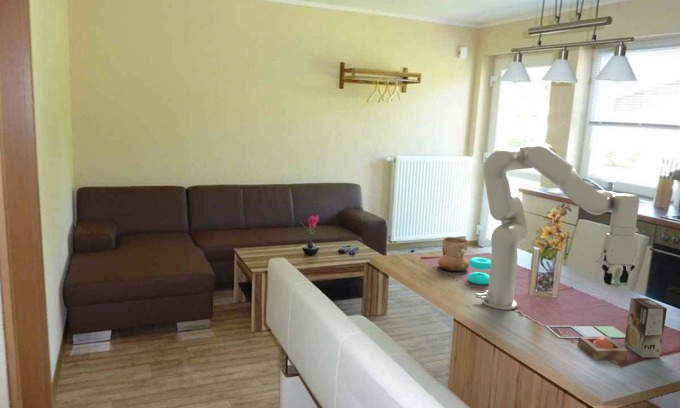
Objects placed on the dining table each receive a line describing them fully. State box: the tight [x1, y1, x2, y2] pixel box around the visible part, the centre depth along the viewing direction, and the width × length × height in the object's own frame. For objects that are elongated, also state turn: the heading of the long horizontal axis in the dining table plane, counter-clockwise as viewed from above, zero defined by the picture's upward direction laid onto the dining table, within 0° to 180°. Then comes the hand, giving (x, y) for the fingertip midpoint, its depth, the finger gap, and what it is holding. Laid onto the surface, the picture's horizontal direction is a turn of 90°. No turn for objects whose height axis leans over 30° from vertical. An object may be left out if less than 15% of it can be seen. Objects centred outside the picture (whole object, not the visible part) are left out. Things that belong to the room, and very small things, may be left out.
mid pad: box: [572, 325, 607, 337], centre depth 176 cm, size 7×9×1 cm
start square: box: [545, 325, 586, 340], centre depth 175 cm, size 10×10×1 cm
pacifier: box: [602, 267, 628, 289], centre depth 173 cm, size 7×6×6 cm
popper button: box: [593, 337, 613, 348], centre depth 161 cm, size 6×6×4 cm
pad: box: [593, 325, 626, 339], centre depth 177 cm, size 7×9×1 cm
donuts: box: [467, 256, 491, 286], centre depth 225 cm, size 10×10×10 cm
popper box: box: [577, 336, 629, 361], centre depth 161 cm, size 10×10×3 cm
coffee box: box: [623, 297, 668, 358], centre depth 162 cm, size 9×6×16 cm
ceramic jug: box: [437, 236, 471, 272], centre depth 243 cm, size 18×14×14 cm
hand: (615, 283), depth 174 cm, fingers closed on pacifier, 4 cm apart
